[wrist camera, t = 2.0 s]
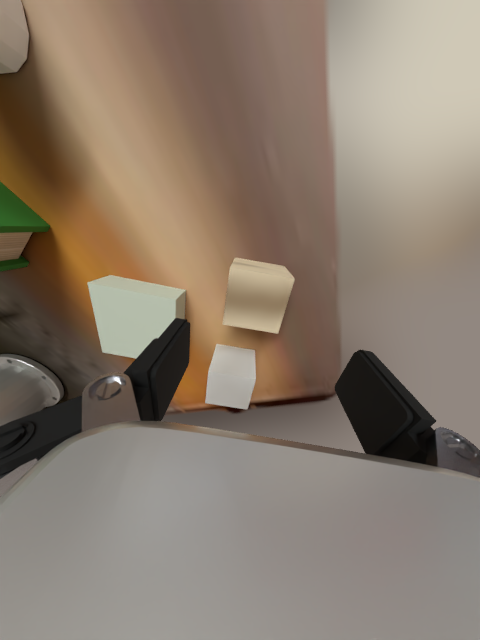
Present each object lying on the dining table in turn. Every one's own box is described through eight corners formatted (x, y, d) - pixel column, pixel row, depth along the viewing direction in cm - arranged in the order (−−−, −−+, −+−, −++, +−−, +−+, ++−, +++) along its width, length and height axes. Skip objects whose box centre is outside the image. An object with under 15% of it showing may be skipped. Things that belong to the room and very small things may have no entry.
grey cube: (248, 377, 30) (247, 409, 25) (213, 372, 30) (205, 403, 25) (255, 349, 28) (255, 379, 22) (216, 343, 27) (208, 371, 22)
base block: (183, 348, 29) (174, 365, 25) (121, 336, 28) (102, 352, 25) (186, 289, 24) (175, 299, 20) (112, 274, 24) (87, 282, 20)
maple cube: (272, 310, 24) (278, 333, 19) (228, 303, 24) (222, 324, 19) (284, 265, 22) (294, 278, 16) (235, 257, 21) (230, 267, 16)
